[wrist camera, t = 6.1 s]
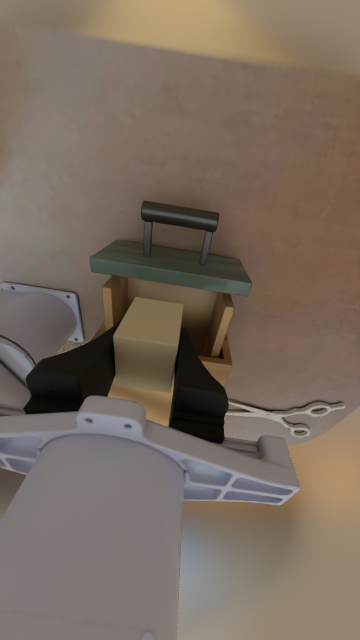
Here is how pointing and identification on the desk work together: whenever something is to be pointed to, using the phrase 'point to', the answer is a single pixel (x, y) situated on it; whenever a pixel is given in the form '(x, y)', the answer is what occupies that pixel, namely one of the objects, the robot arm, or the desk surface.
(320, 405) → the scissors
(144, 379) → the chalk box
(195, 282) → the drawer
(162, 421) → the cabinet
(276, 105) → the desk surface
